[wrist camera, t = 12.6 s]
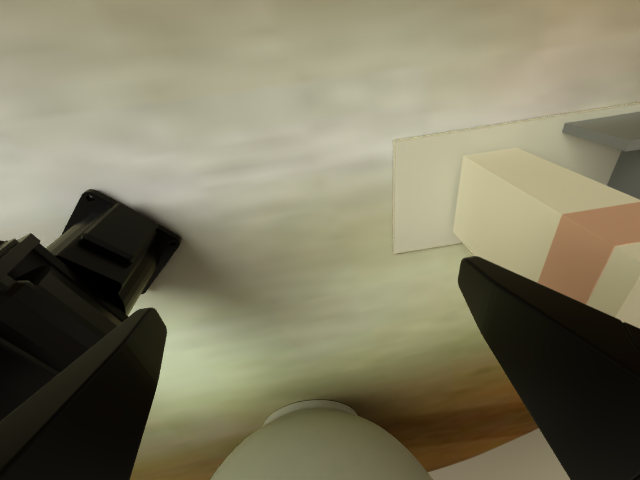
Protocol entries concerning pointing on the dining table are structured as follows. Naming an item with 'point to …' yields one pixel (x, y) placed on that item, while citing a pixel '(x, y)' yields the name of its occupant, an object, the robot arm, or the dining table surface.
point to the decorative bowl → (320, 448)
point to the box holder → (528, 135)
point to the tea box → (552, 228)
